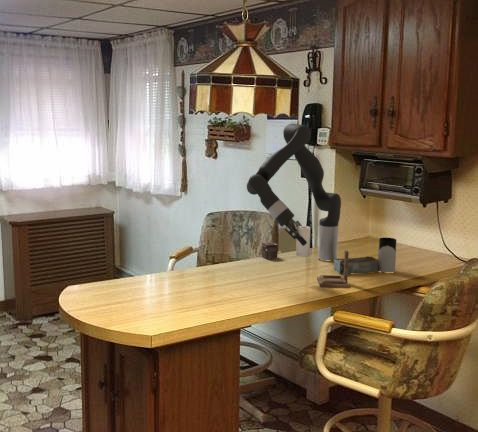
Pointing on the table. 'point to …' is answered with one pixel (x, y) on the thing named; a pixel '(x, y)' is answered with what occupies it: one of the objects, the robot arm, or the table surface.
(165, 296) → the table surface
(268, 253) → the box
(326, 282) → the walnut holder
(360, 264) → the beverage carton
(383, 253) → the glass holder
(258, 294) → the table surface
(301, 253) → the paper roll
